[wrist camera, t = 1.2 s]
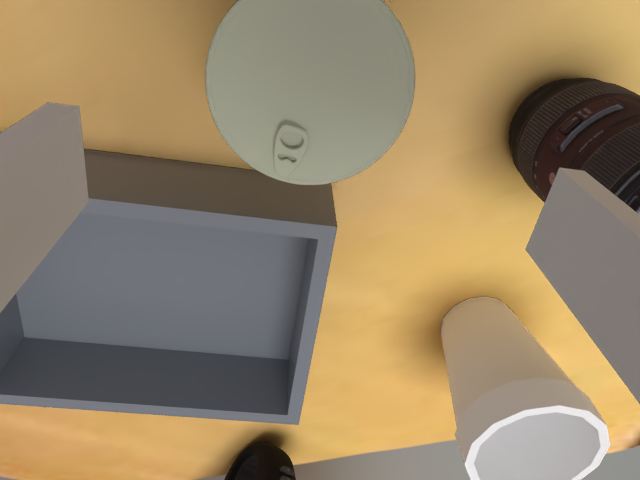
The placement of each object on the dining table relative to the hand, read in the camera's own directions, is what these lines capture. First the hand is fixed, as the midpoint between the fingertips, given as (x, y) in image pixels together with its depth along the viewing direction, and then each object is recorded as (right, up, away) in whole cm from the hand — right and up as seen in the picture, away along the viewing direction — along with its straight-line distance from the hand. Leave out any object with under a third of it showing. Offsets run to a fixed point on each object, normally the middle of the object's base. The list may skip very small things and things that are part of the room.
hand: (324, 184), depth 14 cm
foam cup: (+14, -9, +30) cm, 34 cm away
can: (-1, +11, +18) cm, 21 cm away
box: (-13, -3, +26) cm, 29 cm away
